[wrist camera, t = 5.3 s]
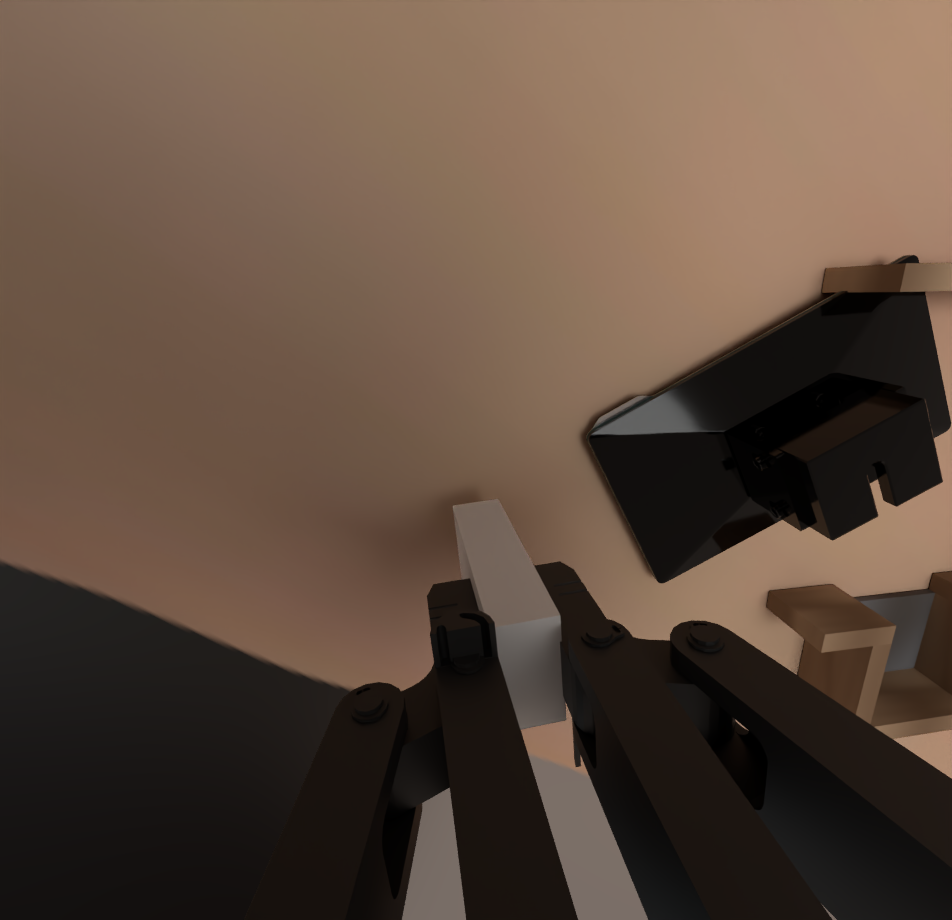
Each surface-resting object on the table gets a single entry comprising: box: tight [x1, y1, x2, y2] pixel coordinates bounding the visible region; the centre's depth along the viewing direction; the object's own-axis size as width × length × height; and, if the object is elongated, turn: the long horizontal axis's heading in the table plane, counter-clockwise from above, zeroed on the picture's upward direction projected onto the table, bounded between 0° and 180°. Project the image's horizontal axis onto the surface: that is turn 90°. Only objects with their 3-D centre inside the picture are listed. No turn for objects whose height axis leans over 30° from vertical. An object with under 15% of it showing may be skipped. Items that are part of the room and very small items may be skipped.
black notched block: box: [586, 255, 951, 583], centre depth 17 cm, size 12×7×5 cm, turn 119°
